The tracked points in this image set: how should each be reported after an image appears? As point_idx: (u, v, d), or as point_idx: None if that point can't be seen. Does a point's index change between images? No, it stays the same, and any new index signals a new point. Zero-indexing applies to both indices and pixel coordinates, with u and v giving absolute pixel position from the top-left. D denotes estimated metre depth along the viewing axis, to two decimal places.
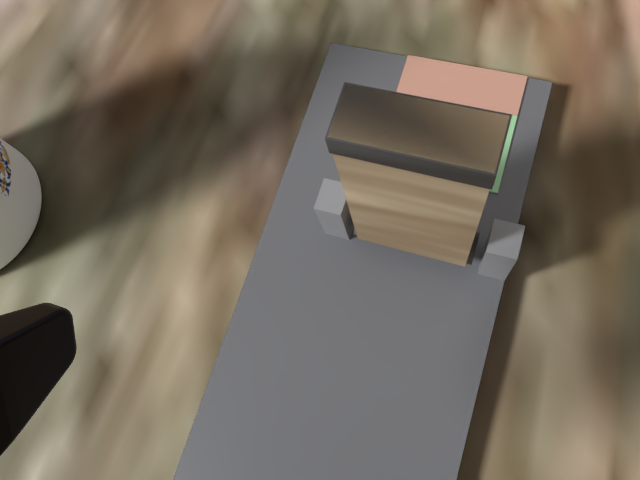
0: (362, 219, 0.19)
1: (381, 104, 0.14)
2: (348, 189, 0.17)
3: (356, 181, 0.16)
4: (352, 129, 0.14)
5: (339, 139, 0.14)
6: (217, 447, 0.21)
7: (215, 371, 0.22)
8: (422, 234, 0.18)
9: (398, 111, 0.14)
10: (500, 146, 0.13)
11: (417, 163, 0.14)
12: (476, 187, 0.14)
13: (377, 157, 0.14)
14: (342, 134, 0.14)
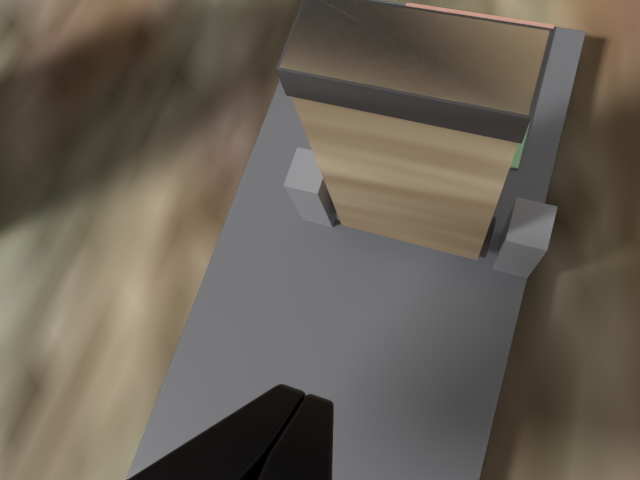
0: (344, 198, 0.15)
1: (358, 19, 0.09)
2: (320, 154, 0.12)
3: (328, 141, 0.12)
4: (316, 56, 0.09)
5: (296, 70, 0.09)
6: None
7: (164, 390, 0.17)
8: (422, 217, 0.14)
9: (383, 29, 0.09)
10: (536, 75, 0.09)
11: (411, 104, 0.09)
12: (498, 141, 0.09)
13: (353, 98, 0.09)
14: (301, 63, 0.09)
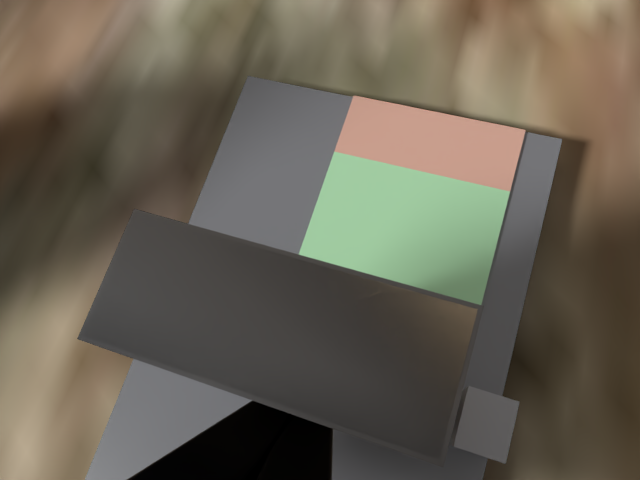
0: None
1: (202, 265, 0.06)
2: None
3: None
4: (136, 321, 0.06)
5: (107, 343, 0.06)
6: None
7: None
8: None
9: (236, 283, 0.06)
10: (455, 387, 0.06)
11: None
12: None
13: None
14: (114, 332, 0.06)
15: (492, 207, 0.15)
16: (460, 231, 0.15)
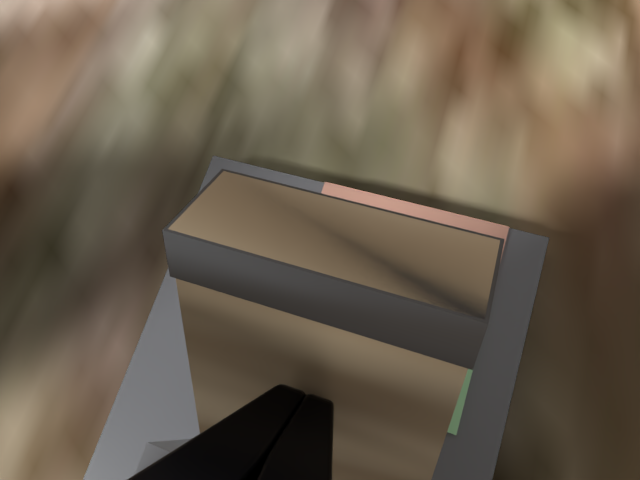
0: None
1: (278, 200, 0.08)
2: (201, 385, 0.09)
3: (215, 362, 0.09)
4: (218, 225, 0.07)
5: (189, 235, 0.07)
6: None
7: None
8: None
9: (306, 212, 0.08)
10: (490, 279, 0.07)
11: (331, 296, 0.07)
12: (442, 366, 0.07)
13: (255, 283, 0.07)
14: (197, 229, 0.07)
15: None
16: None
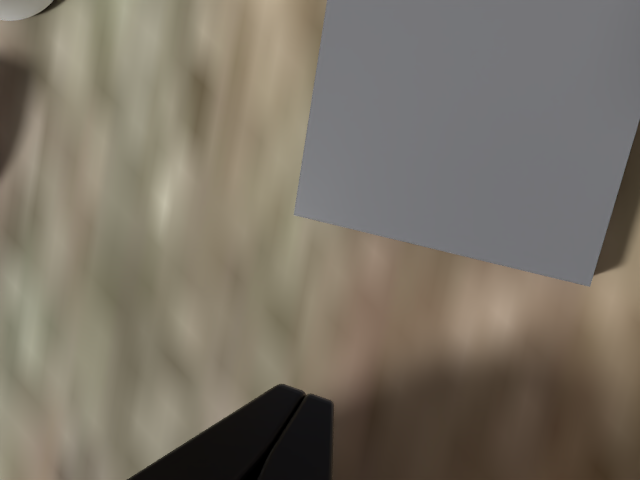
0: None
1: None
2: None
3: None
4: None
5: None
6: (339, 146, 0.19)
7: (321, 62, 0.18)
8: None
9: None
10: None
11: None
12: None
13: None
14: None
15: None
16: None
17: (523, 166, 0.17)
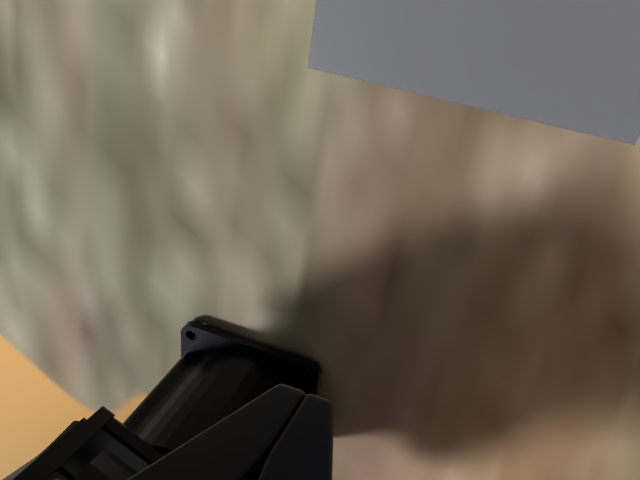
0: None
1: None
2: None
3: None
4: None
5: None
6: None
7: None
8: None
9: None
10: None
11: None
12: None
13: None
14: None
15: None
16: None
17: (575, 5, 0.14)
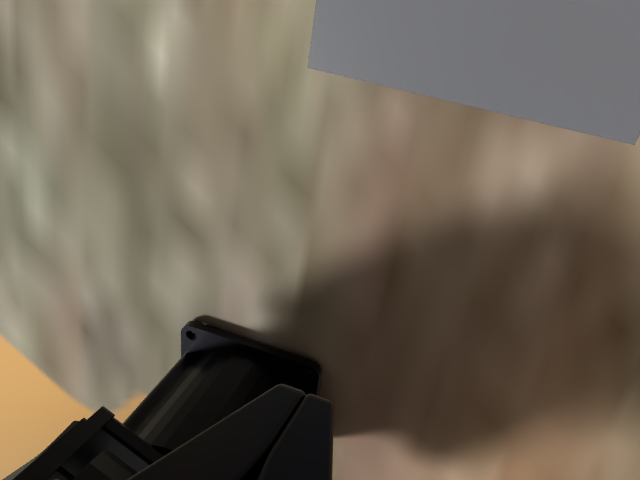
0: None
1: None
2: None
3: None
4: None
5: None
6: None
7: None
8: None
9: None
10: None
11: None
12: None
13: None
14: None
15: None
16: None
17: (575, 5, 0.14)
